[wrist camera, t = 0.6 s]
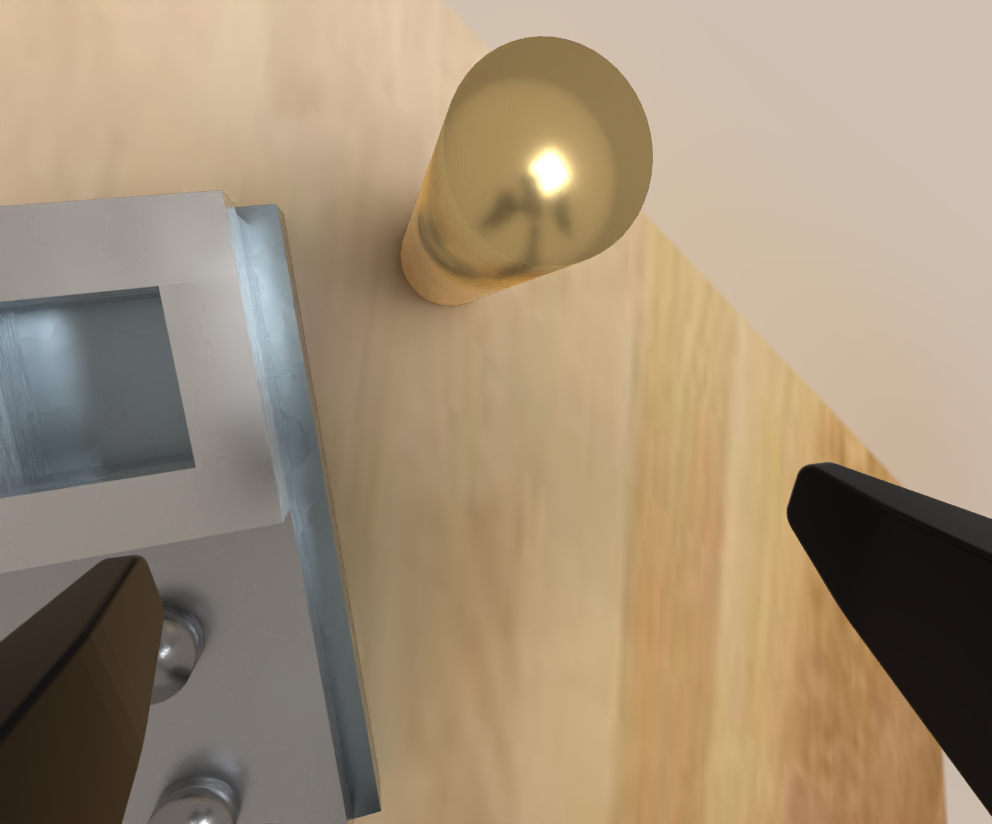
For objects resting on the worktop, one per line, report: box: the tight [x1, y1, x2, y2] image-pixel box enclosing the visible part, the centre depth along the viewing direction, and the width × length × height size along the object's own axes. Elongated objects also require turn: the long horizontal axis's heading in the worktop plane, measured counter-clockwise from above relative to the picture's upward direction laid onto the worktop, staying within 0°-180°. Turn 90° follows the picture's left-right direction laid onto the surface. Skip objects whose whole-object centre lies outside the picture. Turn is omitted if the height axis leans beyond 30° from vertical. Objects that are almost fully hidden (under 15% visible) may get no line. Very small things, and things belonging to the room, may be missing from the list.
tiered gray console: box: [0, 190, 381, 824], centre depth 19 cm, size 22×11×4 cm, turn 7°
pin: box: [401, 36, 653, 306], centre depth 15 cm, size 4×4×12 cm
